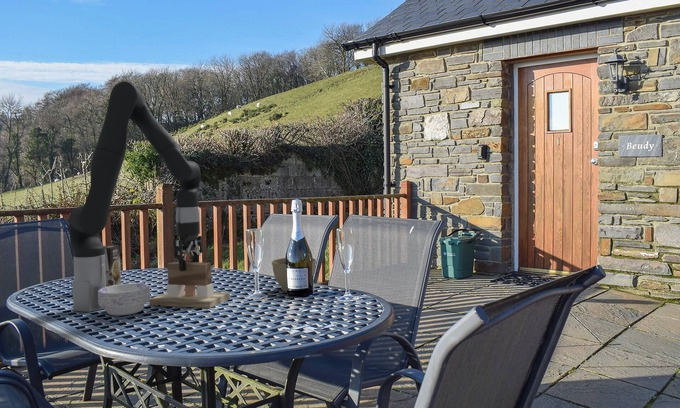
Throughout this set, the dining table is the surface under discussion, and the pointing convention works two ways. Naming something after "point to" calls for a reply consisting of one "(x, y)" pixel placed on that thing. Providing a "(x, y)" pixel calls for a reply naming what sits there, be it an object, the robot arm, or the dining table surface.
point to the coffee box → (112, 265)
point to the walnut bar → (190, 274)
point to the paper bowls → (124, 298)
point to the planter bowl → (284, 271)
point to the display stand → (190, 296)
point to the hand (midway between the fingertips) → (189, 268)
